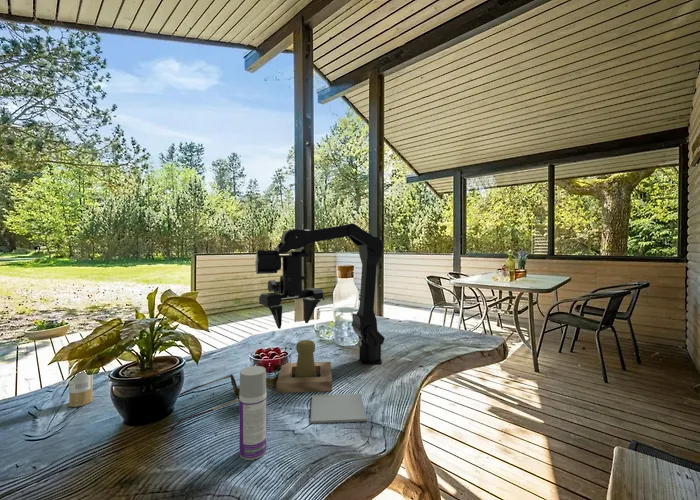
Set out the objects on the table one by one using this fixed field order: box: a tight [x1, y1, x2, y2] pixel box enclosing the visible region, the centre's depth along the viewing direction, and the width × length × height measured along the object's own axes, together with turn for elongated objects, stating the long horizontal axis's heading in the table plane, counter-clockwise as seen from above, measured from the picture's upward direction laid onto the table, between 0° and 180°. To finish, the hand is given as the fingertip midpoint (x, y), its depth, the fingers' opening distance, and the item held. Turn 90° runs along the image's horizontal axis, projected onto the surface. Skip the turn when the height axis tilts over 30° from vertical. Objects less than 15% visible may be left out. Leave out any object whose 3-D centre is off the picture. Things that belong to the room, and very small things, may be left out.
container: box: [238, 365, 268, 461], centre depth 61 cm, size 5×5×15 cm
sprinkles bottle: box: [68, 366, 94, 408], centre depth 79 cm, size 5×5×14 cm
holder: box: [275, 361, 333, 394], centre depth 92 cm, size 14×14×2 cm
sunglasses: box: [170, 374, 240, 430], centre depth 77 cm, size 14×15×5 cm
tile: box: [310, 392, 368, 424], centre depth 77 cm, size 12×12×1 cm
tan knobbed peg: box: [294, 339, 317, 378], centre depth 92 cm, size 6×6×11 cm
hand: (293, 325), depth 99 cm, fingers open, 9 cm apart
